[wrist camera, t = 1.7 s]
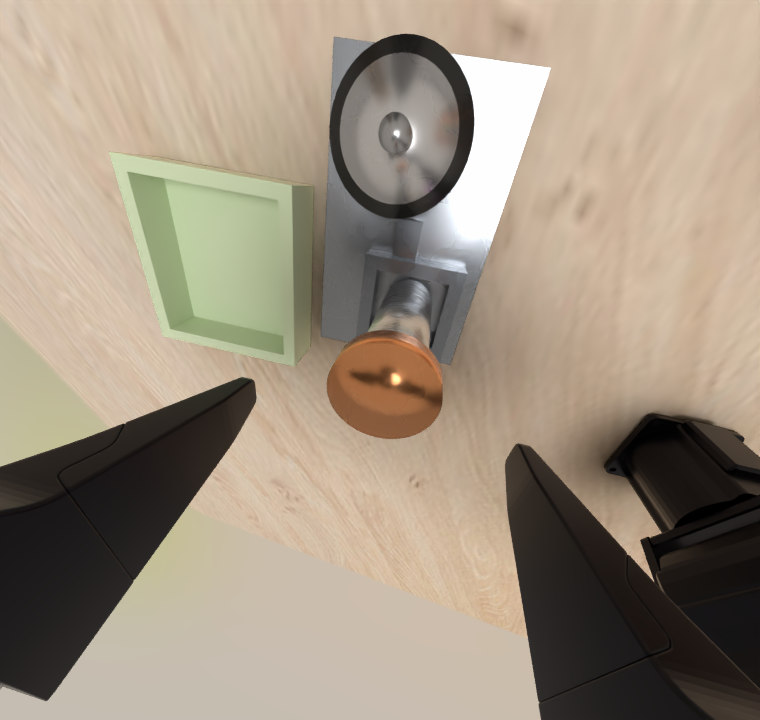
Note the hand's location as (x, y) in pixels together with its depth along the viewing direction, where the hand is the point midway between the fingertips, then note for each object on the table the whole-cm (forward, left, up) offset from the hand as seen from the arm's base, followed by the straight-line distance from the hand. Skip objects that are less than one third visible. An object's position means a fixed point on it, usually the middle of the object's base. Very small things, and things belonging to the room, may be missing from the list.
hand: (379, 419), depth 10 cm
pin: (0, 0, -12) cm, 12 cm away
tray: (0, +13, -12) cm, 18 cm away
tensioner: (+4, +1, -12) cm, 13 cm away
